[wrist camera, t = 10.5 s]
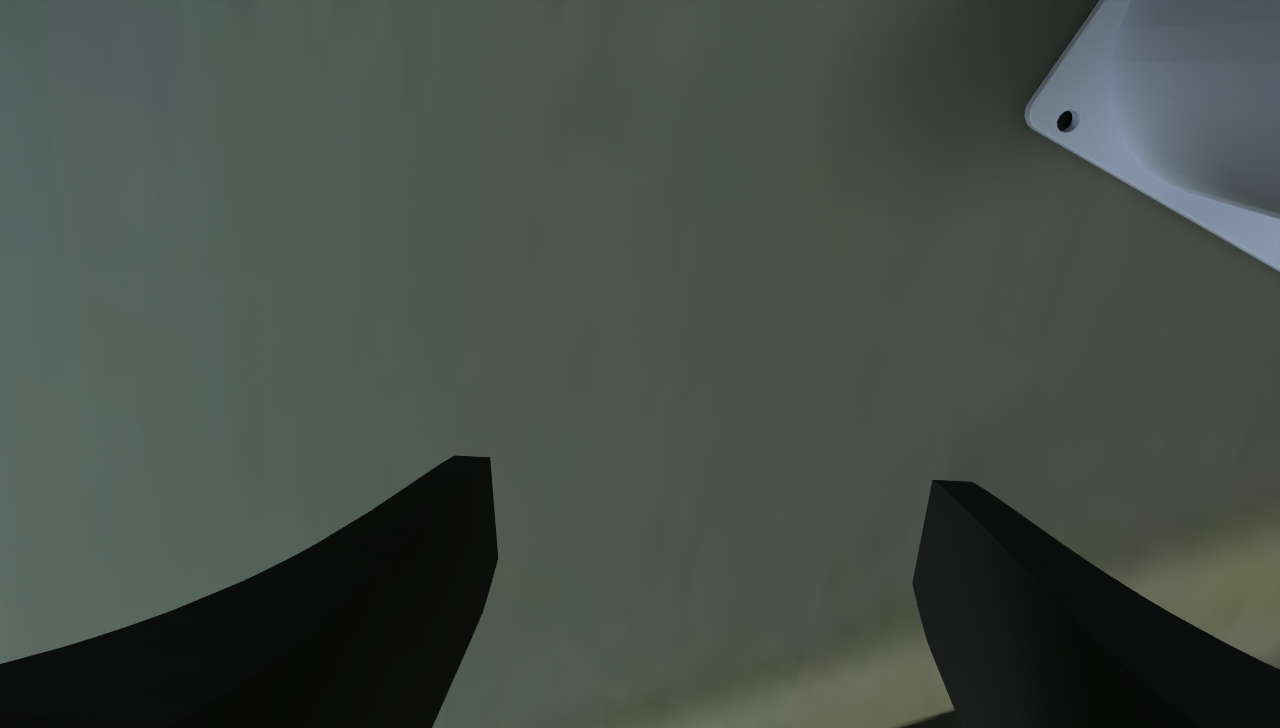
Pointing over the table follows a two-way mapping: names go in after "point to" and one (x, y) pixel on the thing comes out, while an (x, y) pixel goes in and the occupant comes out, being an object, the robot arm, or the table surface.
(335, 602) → the robot arm
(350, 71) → the table surface
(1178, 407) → the table surface
